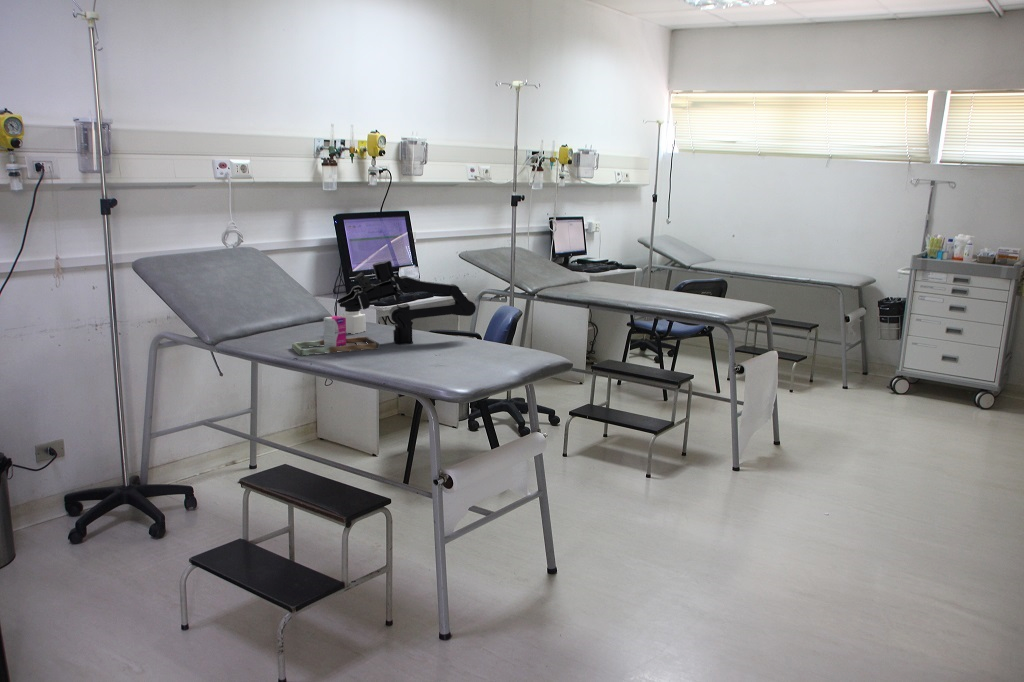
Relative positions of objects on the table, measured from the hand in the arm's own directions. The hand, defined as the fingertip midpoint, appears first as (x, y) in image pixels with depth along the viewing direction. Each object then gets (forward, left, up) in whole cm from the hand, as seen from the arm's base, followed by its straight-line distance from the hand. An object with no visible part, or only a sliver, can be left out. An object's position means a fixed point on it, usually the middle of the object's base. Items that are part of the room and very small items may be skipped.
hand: (338, 303), depth 296 cm
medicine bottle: (-5, -26, -16) cm, 31 cm away
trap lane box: (+2, +5, -16) cm, 16 cm away
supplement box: (+2, +5, -16) cm, 17 cm away
